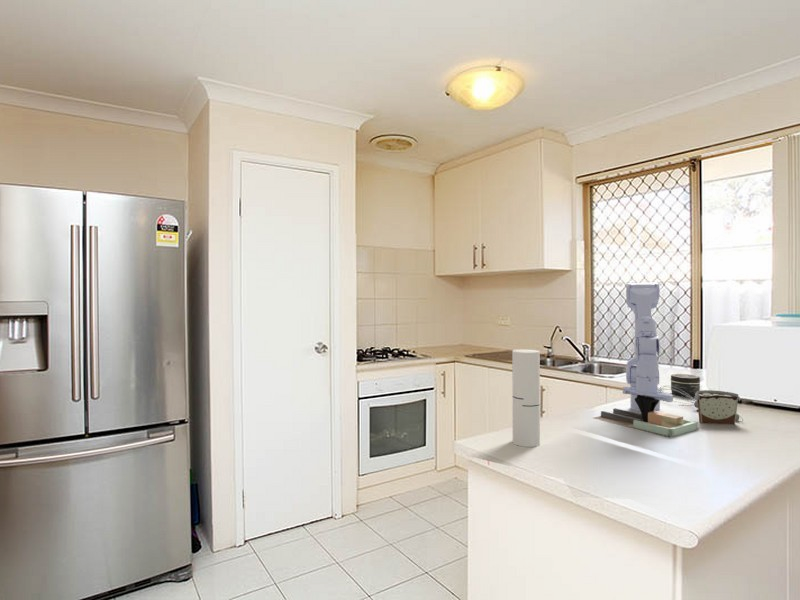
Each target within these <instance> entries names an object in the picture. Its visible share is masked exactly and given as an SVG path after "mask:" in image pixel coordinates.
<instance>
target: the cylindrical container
mask: <svg viewBox="0 0 800 600" xmlns="http://www.w3.org/2000/svg"><path fill="white" fill-rule="evenodd" d="M511 353H512V355H511V356H512V357H511V358H512V360H511V361H512V364H511V365H512V367H511V368H512V373H511V374H512V377H511V378H512V379H511V380H512V386H511V387H512V443H513V444H514V445H516V446H519V447H523V448H536V447H539V446H540V444H541V436H540V435H541V432H540V431H541V429H540V428H541V427H540V426H541V424H540V423H541V420H540V419H541V416H540V415H541V412H540V411H541V410H540V409H541V406H540V405H541V399H540V397H541V395H540V394H541V393H540V391H541V390H540V388H541V381H540V380H541V379H540V378H541V377H540V376H541V375H540V373H541V372H540V370H541V369H540V368H541V367H540V363H541V362H540V361H541V359H540V358H541V357H540V356H541V355H540V354H541V352H540V350H538V349H537V350H536V349H526V348H525V349H512V351H511Z"/></svg>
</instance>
